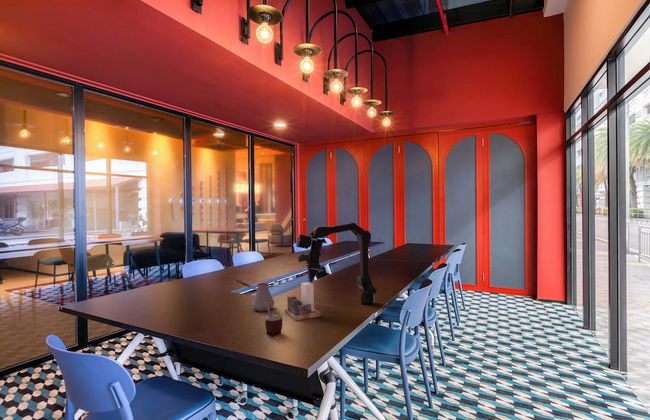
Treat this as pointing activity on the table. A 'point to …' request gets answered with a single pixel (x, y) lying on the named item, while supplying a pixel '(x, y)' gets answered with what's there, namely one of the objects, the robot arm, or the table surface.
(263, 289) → the coffee pot
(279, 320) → the mate gourd
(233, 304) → the table surface
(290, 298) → the stepped stone block model
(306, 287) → the white tall block
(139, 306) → the table surface
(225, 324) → the table surface
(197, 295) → the table surface
